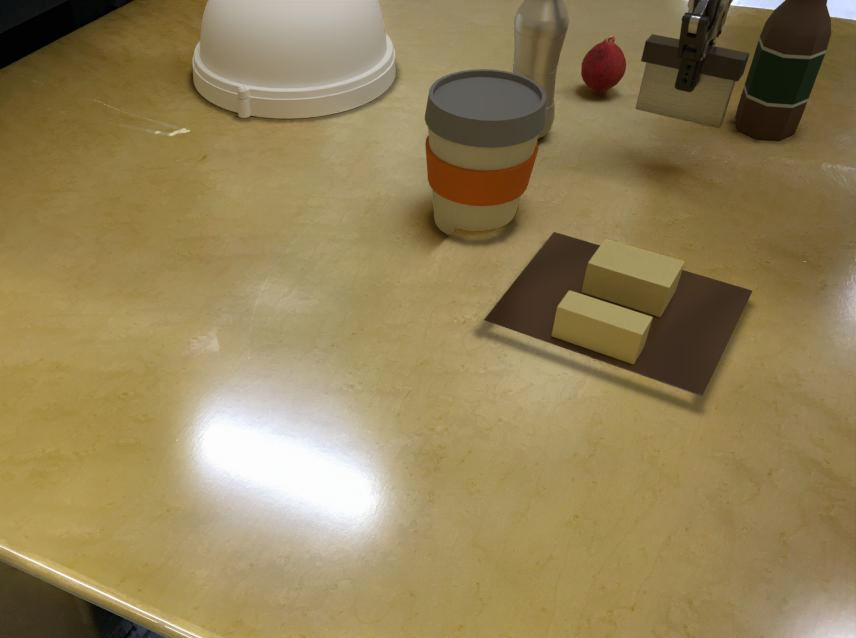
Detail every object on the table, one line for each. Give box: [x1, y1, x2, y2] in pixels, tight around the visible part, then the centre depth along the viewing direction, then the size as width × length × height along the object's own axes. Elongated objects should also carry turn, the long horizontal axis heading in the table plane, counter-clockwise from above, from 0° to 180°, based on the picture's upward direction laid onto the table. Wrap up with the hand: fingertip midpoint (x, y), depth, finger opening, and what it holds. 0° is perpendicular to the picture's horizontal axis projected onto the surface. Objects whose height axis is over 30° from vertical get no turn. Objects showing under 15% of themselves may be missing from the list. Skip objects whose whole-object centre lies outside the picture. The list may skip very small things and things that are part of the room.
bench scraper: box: [634, 33, 751, 129], centre depth 104 cm, size 11×2×8 cm, turn 57°
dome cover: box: [191, 0, 397, 120], centre depth 128 cm, size 32×30×14 cm
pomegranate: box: [580, 34, 627, 95], centre depth 122 cm, size 6×6×8 cm
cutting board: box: [483, 231, 753, 397], centre depth 89 cm, size 21×18×2 cm
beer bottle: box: [734, 0, 832, 141], centre depth 109 cm, size 8×8×24 cm
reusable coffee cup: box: [424, 68, 546, 236], centre depth 98 cm, size 13×13×15 cm
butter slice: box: [551, 290, 653, 364], centre depth 83 cm, size 8×3×4 cm, turn 57°
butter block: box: [582, 238, 686, 317], centre depth 89 cm, size 8×5×4 cm, turn 57°
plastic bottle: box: [512, 0, 570, 140], centre depth 110 cm, size 6×7×20 cm
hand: (688, 84), depth 104 cm, fingers closed on bench scraper, 2 cm apart
